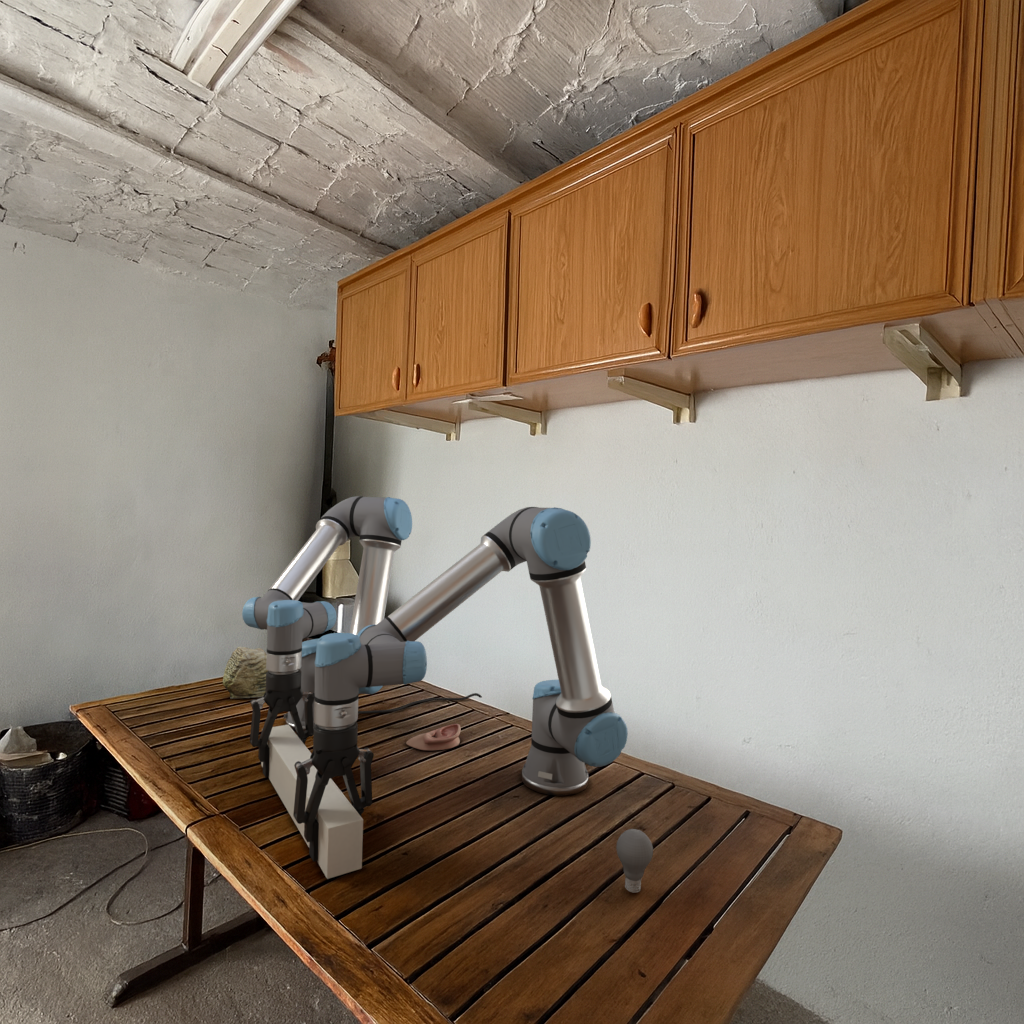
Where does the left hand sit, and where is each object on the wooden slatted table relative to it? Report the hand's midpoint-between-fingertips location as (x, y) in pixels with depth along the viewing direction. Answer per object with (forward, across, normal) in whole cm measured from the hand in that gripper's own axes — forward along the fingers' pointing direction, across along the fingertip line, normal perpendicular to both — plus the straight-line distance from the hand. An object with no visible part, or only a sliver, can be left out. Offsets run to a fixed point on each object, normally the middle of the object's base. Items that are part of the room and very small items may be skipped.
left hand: (281, 771), depth 143 cm
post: (0, 0, -18) cm, 19 cm away
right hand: (0, 0, -37) cm, 37 cm away
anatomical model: (+1, +39, +1) cm, 39 cm away
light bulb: (+1, +40, -71) cm, 81 cm away
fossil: (+1, +6, +62) cm, 62 cm away
